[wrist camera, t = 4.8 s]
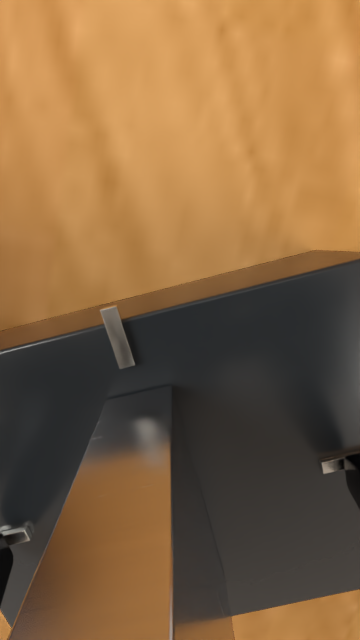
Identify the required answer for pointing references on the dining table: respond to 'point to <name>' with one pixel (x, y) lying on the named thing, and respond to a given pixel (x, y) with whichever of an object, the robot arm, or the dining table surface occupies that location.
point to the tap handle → (131, 539)
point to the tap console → (205, 418)
